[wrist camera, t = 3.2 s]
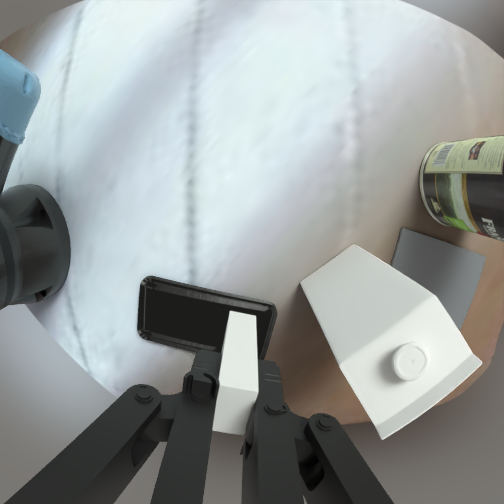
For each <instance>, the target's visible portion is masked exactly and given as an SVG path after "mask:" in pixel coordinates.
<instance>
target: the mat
mask: <svg viewBox="0 0 504 504" xmlns="http://www.w3.org/2000/svg"><path fill="white" fill-rule="evenodd" d="M485 259H486V257H485V256H482V255H480V254H477V253H475V252H472V251H469V250H466V249H464V248H461V247H458V246H455V245H453V244H450V243H447V242H444V241H441V240H438V239H435V238H432V237H429V236H426V235H423V234H420V233H417V232H414V231H411V230H408V229H404V228H401V230H400V234H399V238H398V241H397V245H396V249H395V252H394V256H393V259H392V262H391V267H393V268H394V269H396V270H398V271H399V272H401V273H402V274H404V275H405V276H407V277H409V278H410V279H412V280H413V281H415V282H416V283H418V284H419V285H421V286H422V287H424V288H425V289H427V290H428V291H430V292H431V293H432V294H434V295H436V297H437V298H438V299H439V301H440V302H441V304H442V305H443V307H444V308H445V310H446V311H447V313H448V314H449V316H450V317H451V319H452V320H453V322H454V323H455V325H456V327H457V328H458V330H459V331H460V329H461V327H462V324H463V322H464V319H465V317H466V315H467V312H468V310H469V307H470V304H471V302H472V299H473V296H474V293H475V291H476V288H477V285H478V282H479V279H480V276H481V272H482V269H483V266H484V262H485Z"/></svg>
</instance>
